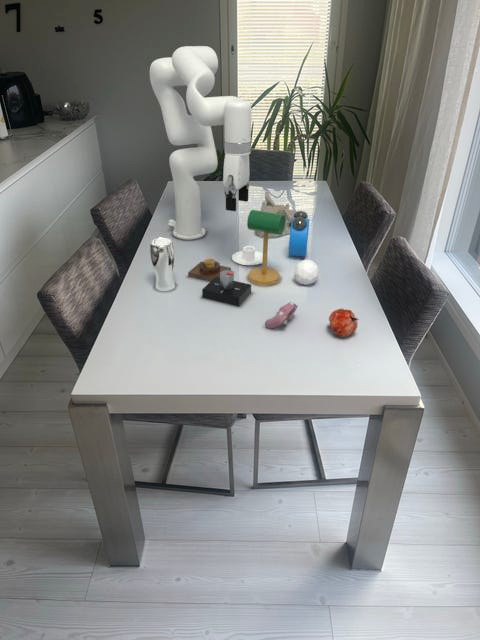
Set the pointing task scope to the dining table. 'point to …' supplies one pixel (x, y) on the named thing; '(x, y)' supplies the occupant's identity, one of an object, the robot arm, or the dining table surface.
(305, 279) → the geometric ball
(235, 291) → the dimmer panel
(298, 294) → the dining table surface
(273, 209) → the ceramic cottage
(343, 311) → the pomegranate
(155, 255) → the beer glass
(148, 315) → the dining table surface
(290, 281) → the dining table surface
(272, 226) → the desk lamp
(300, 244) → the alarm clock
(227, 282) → the dimmer knob
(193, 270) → the switch block
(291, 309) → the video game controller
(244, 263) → the candle holder
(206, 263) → the button
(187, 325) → the dining table surface
